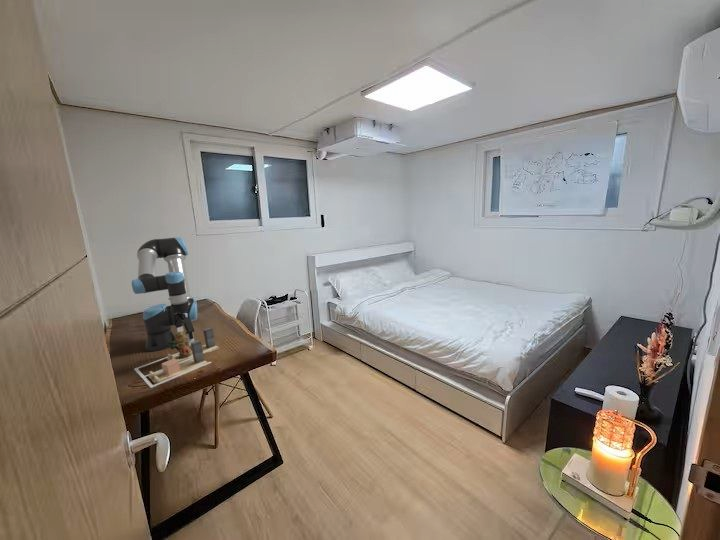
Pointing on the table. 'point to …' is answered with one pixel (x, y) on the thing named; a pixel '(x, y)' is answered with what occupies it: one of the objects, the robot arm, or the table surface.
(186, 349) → the figurine
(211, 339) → the strip
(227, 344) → the table surface
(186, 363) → the strip
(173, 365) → the terracotta cube
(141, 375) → the lane board
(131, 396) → the table surface
